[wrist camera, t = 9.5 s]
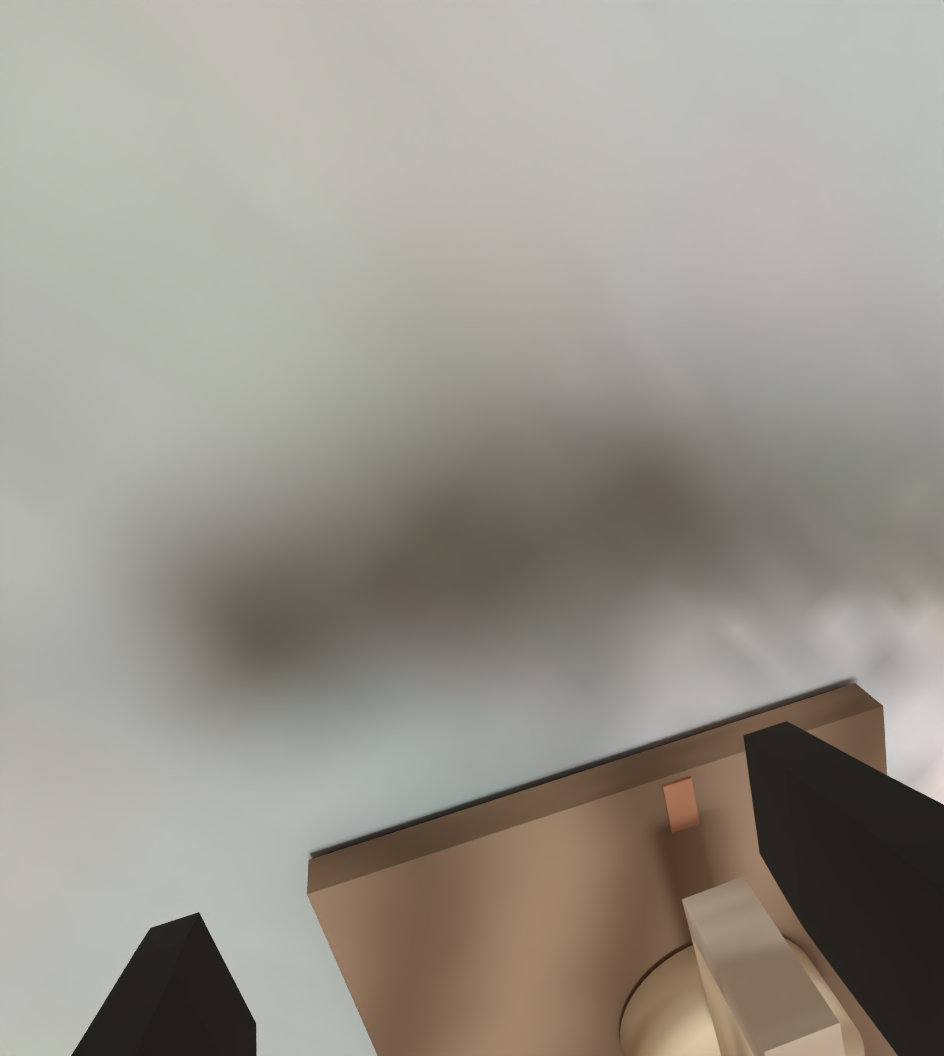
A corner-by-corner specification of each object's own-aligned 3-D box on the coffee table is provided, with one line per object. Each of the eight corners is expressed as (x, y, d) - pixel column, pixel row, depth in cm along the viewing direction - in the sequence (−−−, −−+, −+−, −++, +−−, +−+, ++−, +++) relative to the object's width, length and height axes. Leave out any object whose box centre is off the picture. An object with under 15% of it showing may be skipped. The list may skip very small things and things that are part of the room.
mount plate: (855, 683, 22) (885, 707, 21) (881, 1054, 28) (906, 1090, 26) (308, 859, 21) (307, 897, 19) (457, 1207, 26) (462, 1253, 25)
